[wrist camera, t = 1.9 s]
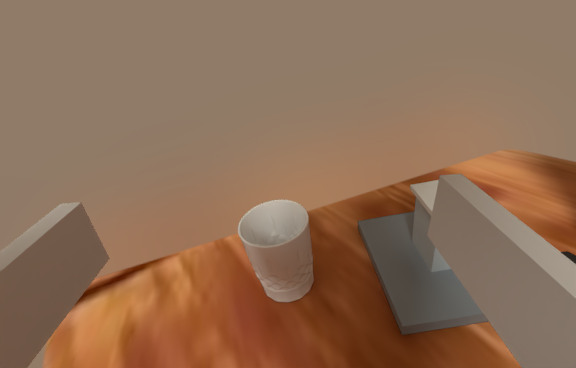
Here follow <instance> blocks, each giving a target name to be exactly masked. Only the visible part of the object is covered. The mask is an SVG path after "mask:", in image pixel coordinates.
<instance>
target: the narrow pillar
mask: <svg viewBox="0 0 576 368" xmlns="http://www.w3.org/2000/svg"><path fill="white" fill-rule="evenodd" d="M438 182H439V180H436V181H430V182H424V183H419V184H413V185H410V190H411V191H412V192H413V194H414V195H415V196H416V201H415V211H414V212H408V213H402V214H397V215H391V216H385V217H379V218H374V219H368V220H362V221H358V230H359V232H360V235H361V237H362V240H363V242H364V244H365V247H366V249H367V252H368V254H369V257H370V259H371V261H372V264H373V266H374V269H375V271H376V273H377V276H378V278H379V281H380V283H381V285H382V288H383V290H384V293H385V295H386V298H387V300H388V302H389V305H390V307H391V310H392V312H393V314H394V317H395V319H396V322H397V324H398V327H399V329H400V331H401V334H402V335H405V334H411V333H418V332H424V331H431V330H437V329H443V328H450V327H456V326H462V325H469V324H475V323H481V322H488V320H487V318H486V317H485V315H484V314H483V313H482V311H481V310H480V308H479V307H478V306H477V304H476V303H475V301H474V300H473V299H472V297H471V296H470V295H469V293H468V292H467V290H466V289H465V288H464V286H463V285H462V283H461V282H460V281H459V279H458V278H457V276H456V275H455V274H454V272H453V271H452V269H451V268H450V267H449V265H448V264H447V262H446V261H445V260H444V258H443V257H442V255H441V254H440V253H439V251H438V250H437V248H436V247H435V246H434V244H433V243H432V242H431V240H430V239H429V237H428V236H427V234H428V229H429V225H430V220H431V215H432V210H433V206H434V201H435V196H436V191H437V187H438Z"/></svg>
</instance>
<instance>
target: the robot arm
mask: <svg viewBox="0 0 576 368" xmlns="http://www.w3.org/2000/svg"><path fill="white" fill-rule="evenodd" d="M427 236H428V237H429V239H430V240H431V242H432V243H433V244H434V246H435V247H436V248H437V250H438V251H439V253H440V254H441V255H442V257H443V258H444V260H445V261H446V262H447V264H448V265H449V267H450V268H451V269H452V271H453V272H454V274H455V275H456V276H457V278H458V279H459V281H460V282H461V283H462V285H463V286H464V288H465V289H466V290H467V292H468V293H469V295H470V296H471V297H472V299H473V300H474V301H475V303H476V304H477V306H478V307H479V308H480V310H481V311H482V313H483V314H484V315H485V317H486V318H487V320H488V321H489V322H490V324H491V325H492V327H493V328H494V329H495V331H496V332H497V334H498V335H499V336H500V338H501V339H502V341H503V342H504V343H505V345H506V346H507V347H508V349H509V350H510V352H511V353H512V354H513V356H514V357H515V359H516V360H517V361H518V363H519V364H520V366H521V367H522V368H576V256H575V255H573V254H571V253H569V252H560V251H558V250H557V249H556V248H555V247H553V246H552V245H551V244H550V243H548V242H547V241H546V240H544V239H543V238H542V237H541V236H539V235H538V234H537V233H536V232H534V231H533V230H532V229H531V228H529V227H528V226H527V225H525V224H524V223H523V222H522V221H520V220H519V219H518V218H517V217H515V216H514V215H513V214H511V213H510V212H509V211H508V210H506V209H505V208H504V207H503V206H501V205H500V204H499V203H498V202H496V201H495V200H494V199H492V198H491V197H490V196H489V195H487V194H486V193H485V192H484V191H482V190H481V189H480V188H479V187H477V186H476V185H475V184H473V183H472V182H471V181H470V180H468V179H467V178H466V177H465V176H463V175H462V174H452V175H440V177H439V182H438V187H437V191H436V196H435V201H434V206H433V210H432V215H431V220H430V225H429V229H428V234H427ZM108 259H109V256H108V255H107V252H106V250H105V249H104V247H103V245H102V243H101V241H100V239H99V237H98V235H97V233H96V231H95V229H94V227H93V225H92V223H91V221H90V219H89V217H88V215H87V213H86V211H85V209H84V207H83V205H82V203H81V202H80V203H67V204H60V205H59V206H57V207H56V208H55V209H54V210H52V211H51V212H50V213H48V214H47V215H46V216H45V217H43V218H42V219H41V220H40V221H38V222H37V223H36V224H34V225H33V226H32V227H31V228H29V229H28V230H27V231H26V232H24V233H23V234H22V235H20V236H19V237H18V238H17V239H15V240H14V241H13V242H12V243H10V244H9V245H8V246H7V247H5V248H4V249H3V250H1V251H0V368H27V367H28V366H29V365H30V363H31V362H32V360H33V359H34V358H35V357H36V355H37V354H38V353H39V351H40V350H41V348H42V347H43V346H44V345H45V343H46V342H47V341H48V339H49V338H50V337H51V335H52V334H53V333H54V331H55V330H56V329H57V327H58V326H59V325H60V323H61V322H62V321H63V319H64V318H65V317H66V315H67V314H68V313H69V312H70V310H71V309H72V308H73V306H74V305H75V304H76V302H77V301H78V300H79V298H80V297H81V296H82V294H83V293H84V292H85V290H86V289H87V288H88V286H89V285H90V284H91V282H92V281H93V280H94V278H95V277H96V276H97V274H98V273H99V271H100V270H101V269H102V268H103V266H104V265H105V264H106V262H107V261H108Z"/></svg>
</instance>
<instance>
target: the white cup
mask: <svg viewBox="0 0 576 368" xmlns="http://www.w3.org/2000/svg"><path fill="white" fill-rule="evenodd" d="M238 234H239V236H240V239H241V241H242V243H243V246H244V248H245V251H246V253H247V255H248V258H249V260H250V263H251V264H252V266H253V269H254V271H255V273H256V275H257V278H258V279H259V280H260V282H261V285H262V287H263V289H264V291H265V293H266V295H267V296H268V297H270V298H272V299H273V300H275V301H277V302H292V301H295V300H298V299H301V298H302V297H303V296H304V295H305V294H306V293H308V292H309V291H310V289H311V286H312V284H313V282H314V275H313V254H312V242H311V235H310V226H309V217H308V213H307V211H306V209H305V208H304V207H303V206H302V205H300V204H299V203H297V202H294V201H290V200H273V201H268V202H265V203H262V204H260V205H257V206H255V207H254V208H252V209H251V210H249V211H248V212H247V213H246V214H245V215H244V216H243V217H242V219H241V220H240V222H239V225H238Z"/></svg>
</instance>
